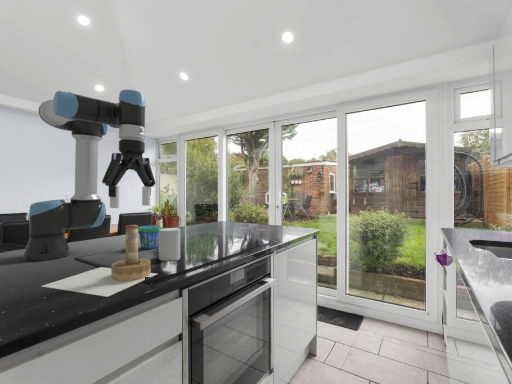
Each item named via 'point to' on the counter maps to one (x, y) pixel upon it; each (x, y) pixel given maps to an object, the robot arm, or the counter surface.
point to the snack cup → (149, 236)
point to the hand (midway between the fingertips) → (131, 206)
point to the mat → (94, 283)
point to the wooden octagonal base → (130, 270)
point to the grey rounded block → (169, 244)
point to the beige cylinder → (131, 244)
